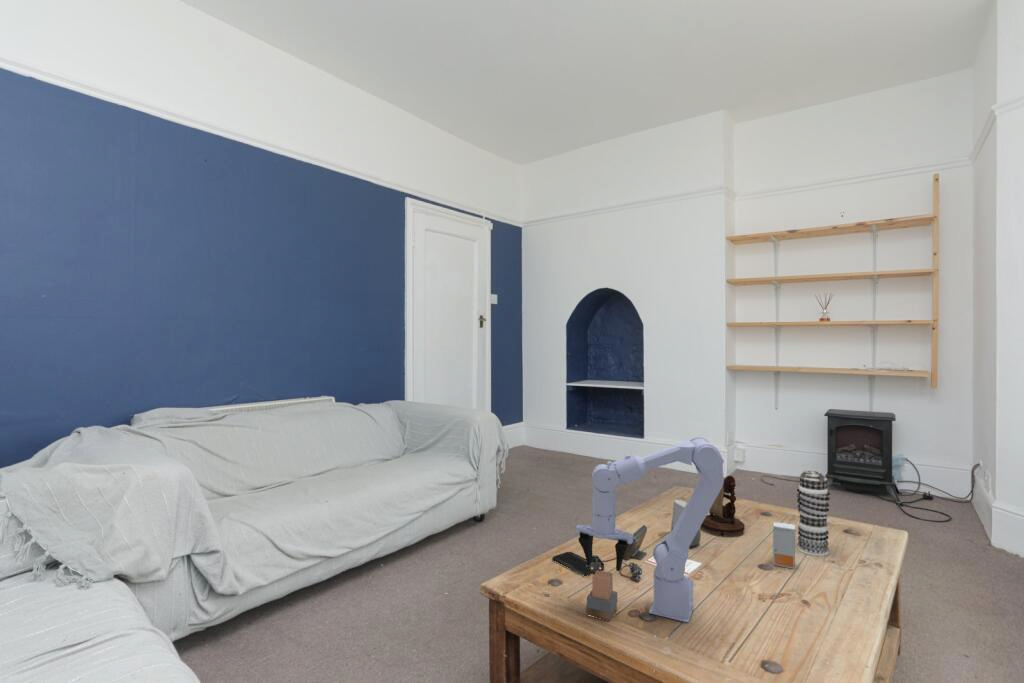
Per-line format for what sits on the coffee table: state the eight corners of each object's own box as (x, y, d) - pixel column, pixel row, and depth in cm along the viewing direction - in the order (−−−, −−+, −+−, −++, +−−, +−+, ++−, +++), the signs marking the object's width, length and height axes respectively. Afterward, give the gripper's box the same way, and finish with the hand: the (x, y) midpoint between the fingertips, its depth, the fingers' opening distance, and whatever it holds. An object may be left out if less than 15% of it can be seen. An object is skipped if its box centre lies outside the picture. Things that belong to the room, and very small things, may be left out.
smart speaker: (704, 549, 170) (704, 506, 170) (675, 549, 170) (675, 506, 170) (695, 538, 179) (695, 497, 179) (667, 538, 180) (667, 497, 179)
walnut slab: (616, 611, 133) (616, 601, 133) (609, 622, 127) (609, 612, 127) (594, 605, 135) (593, 596, 135) (586, 616, 130) (586, 606, 130)
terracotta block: (612, 592, 132) (612, 573, 132) (608, 600, 128) (608, 579, 128) (597, 589, 134) (596, 570, 134) (592, 596, 130) (592, 576, 130)
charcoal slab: (617, 601, 132) (617, 591, 132) (610, 613, 127) (610, 602, 127) (594, 596, 135) (594, 586, 135) (586, 607, 130) (586, 597, 130)
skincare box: (772, 565, 158) (772, 525, 158) (772, 560, 162) (772, 521, 161) (795, 569, 155) (795, 529, 155) (795, 564, 159) (795, 524, 159)
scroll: (690, 526, 191) (690, 471, 190) (721, 519, 197) (721, 466, 197) (722, 540, 177) (722, 481, 177) (754, 533, 184) (754, 476, 183)
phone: (569, 551, 167) (604, 567, 155) (569, 554, 167) (604, 571, 155) (550, 557, 163) (584, 574, 150) (550, 560, 163) (584, 578, 150)
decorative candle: (828, 559, 162) (828, 478, 162) (794, 551, 168) (794, 473, 167) (831, 549, 169) (831, 472, 169) (799, 542, 175) (799, 467, 175)
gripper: (571, 513, 134) (571, 566, 134) (627, 522, 127) (628, 578, 127) (581, 505, 140) (581, 556, 140) (635, 513, 133) (635, 567, 133)
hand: (604, 566), depth 134 cm, fingers open, 7 cm apart
